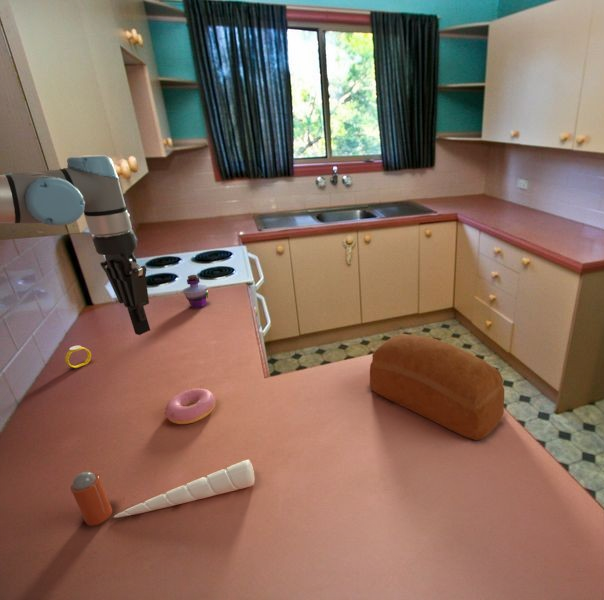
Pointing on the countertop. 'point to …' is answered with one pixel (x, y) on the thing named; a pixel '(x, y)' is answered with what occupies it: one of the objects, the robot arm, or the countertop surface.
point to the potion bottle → (195, 292)
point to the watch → (74, 349)
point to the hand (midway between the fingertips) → (142, 332)
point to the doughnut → (190, 406)
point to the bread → (439, 383)
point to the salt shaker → (91, 498)
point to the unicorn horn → (199, 488)
